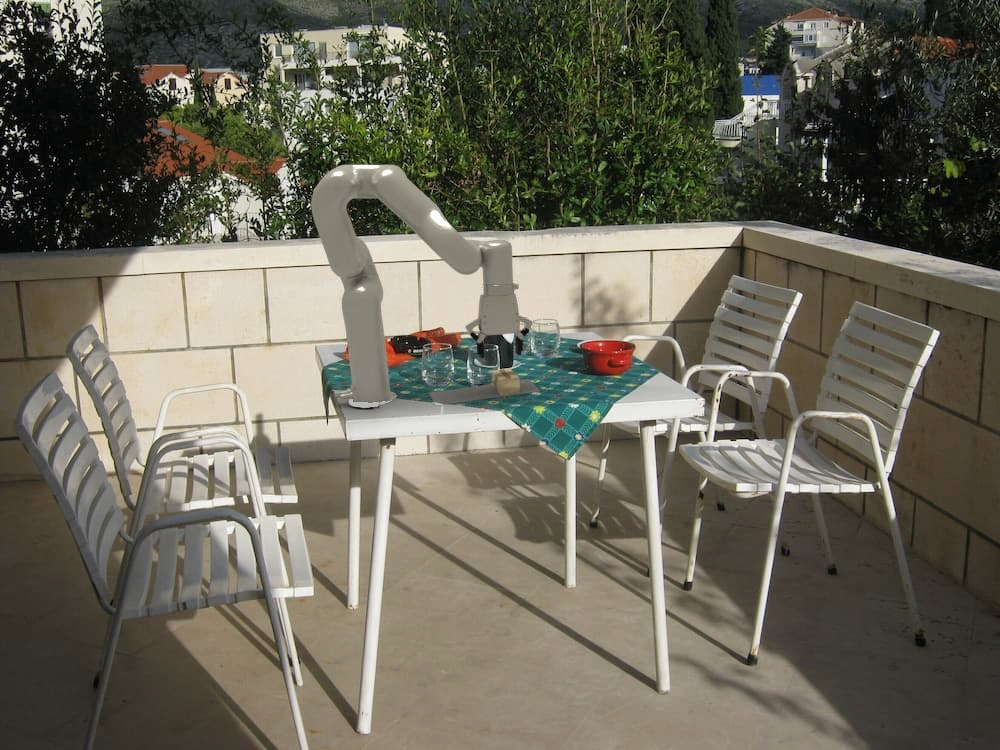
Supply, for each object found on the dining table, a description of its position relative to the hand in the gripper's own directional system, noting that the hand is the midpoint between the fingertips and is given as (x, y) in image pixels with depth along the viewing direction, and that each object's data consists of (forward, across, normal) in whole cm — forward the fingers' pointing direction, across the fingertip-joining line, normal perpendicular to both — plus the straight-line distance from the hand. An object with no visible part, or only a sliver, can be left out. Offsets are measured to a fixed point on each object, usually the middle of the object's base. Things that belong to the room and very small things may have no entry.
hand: (500, 355), depth 275 cm
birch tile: (+9, -1, 0) cm, 9 cm away
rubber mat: (+10, +5, 0) cm, 11 cm away
